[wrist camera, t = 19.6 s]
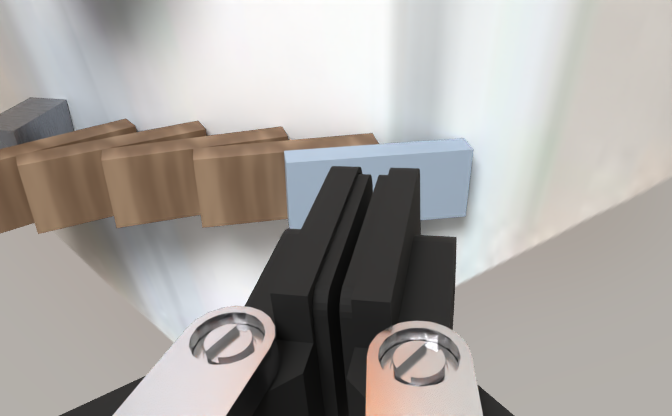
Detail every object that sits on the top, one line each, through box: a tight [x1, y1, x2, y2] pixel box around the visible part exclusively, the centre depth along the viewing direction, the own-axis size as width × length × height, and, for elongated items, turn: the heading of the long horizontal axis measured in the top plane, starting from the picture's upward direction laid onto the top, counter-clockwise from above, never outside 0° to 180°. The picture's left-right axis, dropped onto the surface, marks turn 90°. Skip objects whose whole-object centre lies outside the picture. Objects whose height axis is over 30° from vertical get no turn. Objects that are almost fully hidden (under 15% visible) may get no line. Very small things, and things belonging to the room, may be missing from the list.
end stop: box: [0, 98, 74, 149], centre depth 44 cm, size 3×7×6 cm, turn 0°
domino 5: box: [284, 138, 473, 229], centre depth 40 cm, size 2×5×12 cm
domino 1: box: [0, 119, 136, 233], centre depth 41 cm, size 2×5×12 cm
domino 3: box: [101, 127, 288, 228], centre depth 41 cm, size 2×5×12 cm
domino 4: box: [193, 133, 379, 228], centre depth 40 cm, size 2×5×12 cm
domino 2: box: [16, 121, 206, 234], centre depth 41 cm, size 2×5×12 cm
